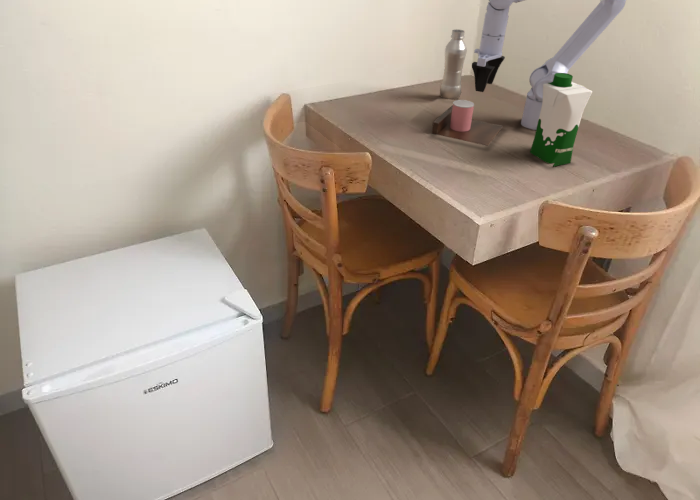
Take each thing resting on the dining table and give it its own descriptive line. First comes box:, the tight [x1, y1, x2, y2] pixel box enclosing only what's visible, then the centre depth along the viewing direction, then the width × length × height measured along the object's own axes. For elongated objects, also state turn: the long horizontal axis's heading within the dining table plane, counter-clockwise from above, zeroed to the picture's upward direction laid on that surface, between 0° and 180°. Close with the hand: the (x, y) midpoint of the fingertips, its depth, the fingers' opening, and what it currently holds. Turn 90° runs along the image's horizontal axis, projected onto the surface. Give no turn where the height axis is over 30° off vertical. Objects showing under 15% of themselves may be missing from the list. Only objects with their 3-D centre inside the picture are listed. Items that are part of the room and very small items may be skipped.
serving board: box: [431, 104, 504, 147], centre depth 143 cm, size 15×15×4 cm
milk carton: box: [529, 73, 593, 167], centre depth 126 cm, size 9×9×20 cm
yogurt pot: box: [450, 99, 475, 132], centre depth 142 cm, size 6×6×7 cm
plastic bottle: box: [439, 29, 468, 101], centre depth 160 cm, size 6×7×20 cm
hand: (483, 87), depth 144 cm, fingers open, 7 cm apart
